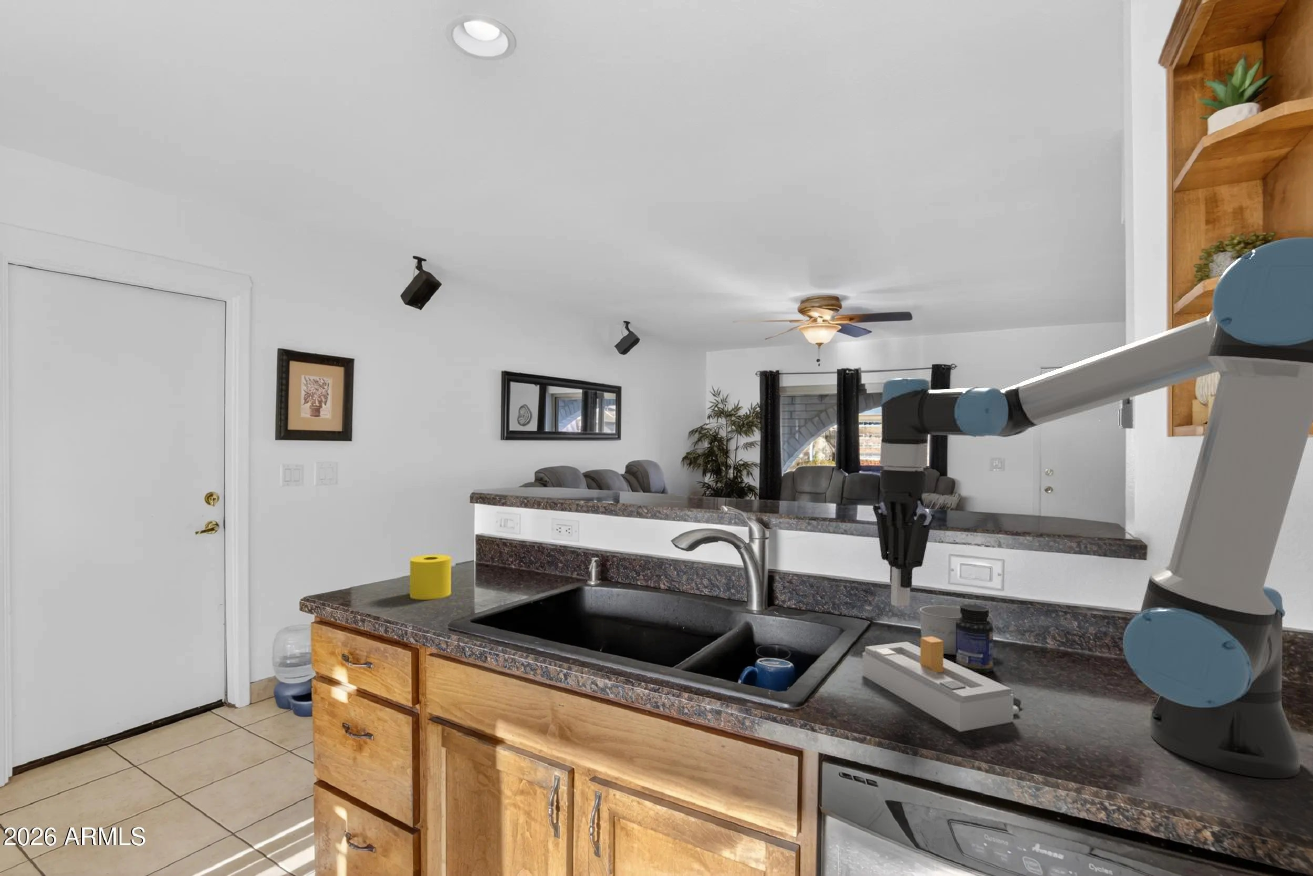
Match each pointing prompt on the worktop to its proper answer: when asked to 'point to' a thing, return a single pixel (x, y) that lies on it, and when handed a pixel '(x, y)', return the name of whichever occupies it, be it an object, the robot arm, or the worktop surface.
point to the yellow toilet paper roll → (430, 577)
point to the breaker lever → (931, 654)
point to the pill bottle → (974, 639)
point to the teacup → (942, 625)
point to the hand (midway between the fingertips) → (900, 604)
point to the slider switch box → (939, 687)
